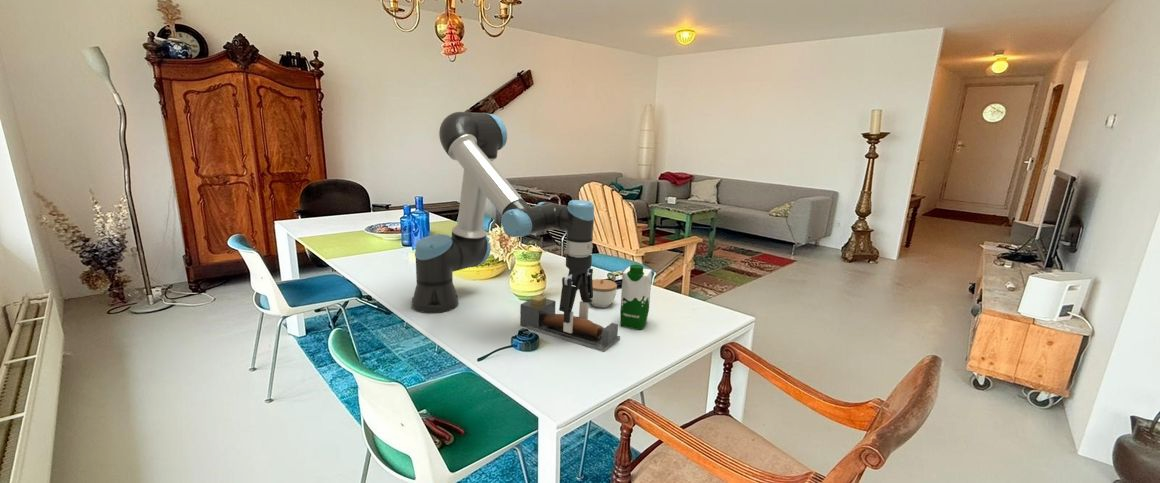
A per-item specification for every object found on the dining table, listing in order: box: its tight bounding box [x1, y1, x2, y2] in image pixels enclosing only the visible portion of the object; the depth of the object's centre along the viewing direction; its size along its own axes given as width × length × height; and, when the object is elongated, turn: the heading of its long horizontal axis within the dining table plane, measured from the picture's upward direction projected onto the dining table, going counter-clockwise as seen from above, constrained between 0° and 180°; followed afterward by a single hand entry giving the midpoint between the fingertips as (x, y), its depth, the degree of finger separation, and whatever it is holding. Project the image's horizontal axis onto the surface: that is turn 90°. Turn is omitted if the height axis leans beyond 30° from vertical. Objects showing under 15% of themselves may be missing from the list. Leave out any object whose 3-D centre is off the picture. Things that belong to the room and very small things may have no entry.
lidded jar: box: [589, 278, 618, 309], centre depth 169 cm, size 11×11×9 cm
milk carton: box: [619, 264, 652, 331], centre depth 152 cm, size 9×9×20 cm
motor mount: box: [519, 294, 621, 352], centre depth 145 cm, size 31×10×9 cm, turn 59°
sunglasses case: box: [543, 313, 605, 338], centre depth 144 cm, size 18×7×7 cm
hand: (575, 326), depth 144 cm, fingers closed on sunglasses case, 8 cm apart
